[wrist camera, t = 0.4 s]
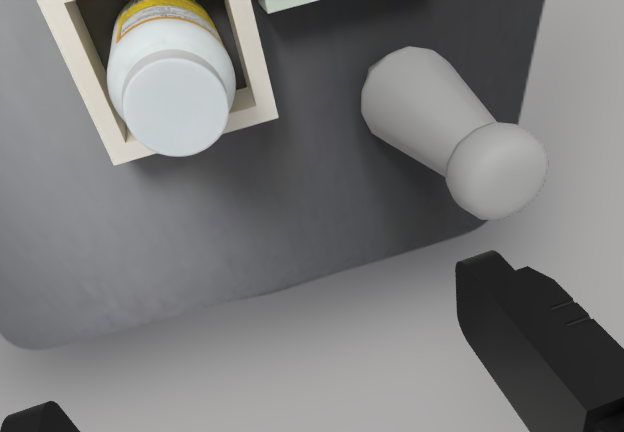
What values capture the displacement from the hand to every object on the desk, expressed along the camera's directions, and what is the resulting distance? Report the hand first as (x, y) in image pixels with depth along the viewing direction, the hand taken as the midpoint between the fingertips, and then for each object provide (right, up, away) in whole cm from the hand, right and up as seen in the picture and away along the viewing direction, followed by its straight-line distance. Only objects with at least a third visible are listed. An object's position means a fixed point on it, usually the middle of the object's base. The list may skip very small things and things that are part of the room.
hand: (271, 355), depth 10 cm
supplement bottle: (-7, +12, +18) cm, 22 cm away
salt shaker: (+6, +11, +22) cm, 26 cm away
